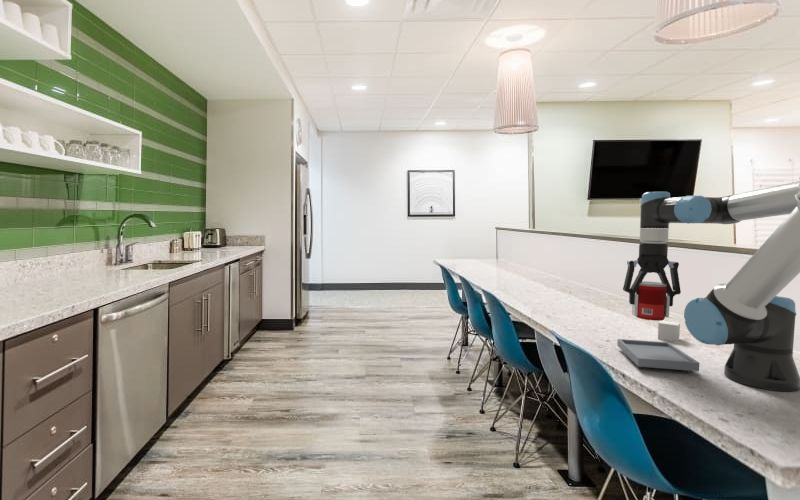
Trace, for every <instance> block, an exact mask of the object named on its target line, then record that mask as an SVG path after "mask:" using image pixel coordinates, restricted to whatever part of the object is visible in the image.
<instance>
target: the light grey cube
mask: <svg viewBox="0 0 800 500" xmlns="http://www.w3.org/2000/svg"><path fill="white" fill-rule="evenodd" d="M680 329H681V323H680V322H677V321H668V320H661V321H659V322H658V326H657V339H658V340H661V341H662V340H663V341H668V342H676V343H678V342H679V340H680V334H681V333H680V332H681V331H680Z"/></svg>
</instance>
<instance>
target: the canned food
mask: <svg viewBox="0 0 800 500" xmlns="http://www.w3.org/2000/svg"><path fill="white" fill-rule="evenodd" d="M666 291H667V286H666V284H663V283H662V282H660V281H659V282H658V281H648V280H647V281H646V280H645V281H643V280H642V282H641V283H640V284H639V288H638V290H637V292H636V293H635V294H637V295H638V311H637V316H635V317H636V319H637V318H638V319H641V320H645V321H646V320H647V321H654V322H656V321H657V322H658V321H659V322H660V321H661V320H663V321H665V318H666V317H665V310H666V295H667V293H666Z"/></svg>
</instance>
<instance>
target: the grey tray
mask: <svg viewBox="0 0 800 500" xmlns="http://www.w3.org/2000/svg"><path fill="white" fill-rule="evenodd" d="M616 346H617V347H618V348H619V349H620V350H621V352H622V353H624V354H625V355H626V356H627V358H629V359H630V360H631V361H632V362H633V363H634V364H635V365H637V367H638V369H644V368H655V369H666V370H681V371H685V372H686V373H692V372H700V362H699V361H697V360H696V359H695V358H693V357H691V356H690V355H688V354H687V353H685V352H684V351H683V350H681V349H680V348H678V347H676V346H675V345H673V344H672V343H670V341H668V342H667V341H666V342H665V341H653V340H639V339H638V340H637V339H625V338H617V345H616Z"/></svg>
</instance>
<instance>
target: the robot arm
mask: <svg viewBox="0 0 800 500" xmlns="http://www.w3.org/2000/svg"><path fill="white" fill-rule="evenodd" d="M785 215H788V216H787V217H786V218H785V219H784V220H783V221H782V222H781V224H780V225H779V226H778V227H777V228H776V229H775V230H773V233H772V234H770V236H768V238H767V239H766V240H765V242H763V244H762V245H761V246H760V247H759V248H758V249H757V250H756V252H754V253H753V255H751V257H750V258H749V259H748V260H747V261H746V262H745V263H744V265H743V266H742V267H741V268H740V269H739V270H738V271H737V272H736V274H735V275H734V276H733V277H732V278H731V279H730V280H729V281H728V282H727V283H718V284H716V285H715V286H714V287H713V288H712V290H711V291H710V292H709V293H708V294H707V295H706V296H705V297H697V298H694V299H692V300H690V301H688V302H687V304H686V306H685V308H684V311H683V319H684V323H685V326H686V328H687V330H688V332H689V334H690V335H691V336H692V337H693V338H694V339H695V340H696V341H698V342H700V343H701V344H705V345H710V346H711V345H713V346H714V345H715V346H723V345H733V349H732V351H731V353H730V355H729V357H728V358H727V360H726V362H725V364H724V373H723V375H724V376H725V377H727V378H728V379H730V380H731V381H735V382H736V383H739V384H743V385H747V386H749V387H753V388H754V387H755V388H760V389H764V390H771V391H777V392H778V391H780V392H795V391H799V390H800V373H799V371H798V368H797V365H796V362H795V359H794V356H793V355H794V354H793V353H794V342H795V341H794V340H795V327H796V325H795V324H796V316H797V311H796V303H795V300H793V299H792V298H789V297H784V296H778V295H779V294H780V292H782V290H783V289H785V288H786V287H787V286H788V285H789V284H790V283H792V281H793V280H794V279H795V278H796V277H797V276H798V275H799V274H800V177H799V181H793V182H788V183H784V184H780V185H775V186H770V187H765V188H760V189H755V190H750V191H745V192H739V193H736V194H732V195H727V196H721V197H719V196H718V197H717V196H716V197H709V196H703V195H691V194H690V195H686V196H677V197H675V196H674V197H671V193H670V192H668V191H646V192H644V193H643V194H642V195H641V203H640V221H639V223H640V225H639V229H640V230H639V241H640V243H639V245H638V246H639V247H638V257H637V259H635V260H634V259H633V260H630V259H628V260H627V270H626V274H625V278H624V284H623V288H622V290H623V292H626V293H628V295H629V296H628V298H629V299H628V303H629V305H632V306H631V307H632V308H631V315H633V316H635V317H636V316H637V311H638V295H637V294H636V292H637V290H638V288H639V284H640V283H641V282H642V281H643V280H644V279H645V277H646V275H648V274H651V273H654V274H657V275H658V277H659V280H660V281H661V282H660V283H663V284H666V286H667V291H666V310H665V318H670V307H673V305H674V297H675V296H677V295H680V294H681V292H682V291H681V286H680V285H681V284H680V277H679V271H678V269H679V265H680V263H679V262H678V261H671V260H669V259H668V250H669V249H668V248H669V245H668V244H667V242H669V229H670V224H717V225H718V224H719V225H720V224H721V225H732V224H738V223H740V222H741V221H748V220H749V221H750V220H757V219H763V218H770V217H778V216H785ZM637 265H638V266H639V267H640V269H639V271H638V274H637V275H636V277H635V279H634V281H633V277H634V273H635V268H636V267H637ZM667 266H668V268H669V272H670V278H671V279H670V280H671V284H670V281H669V279H668V277H667V273H666V271H665V268H666V267H667ZM632 281H633V283H632Z"/></svg>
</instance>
